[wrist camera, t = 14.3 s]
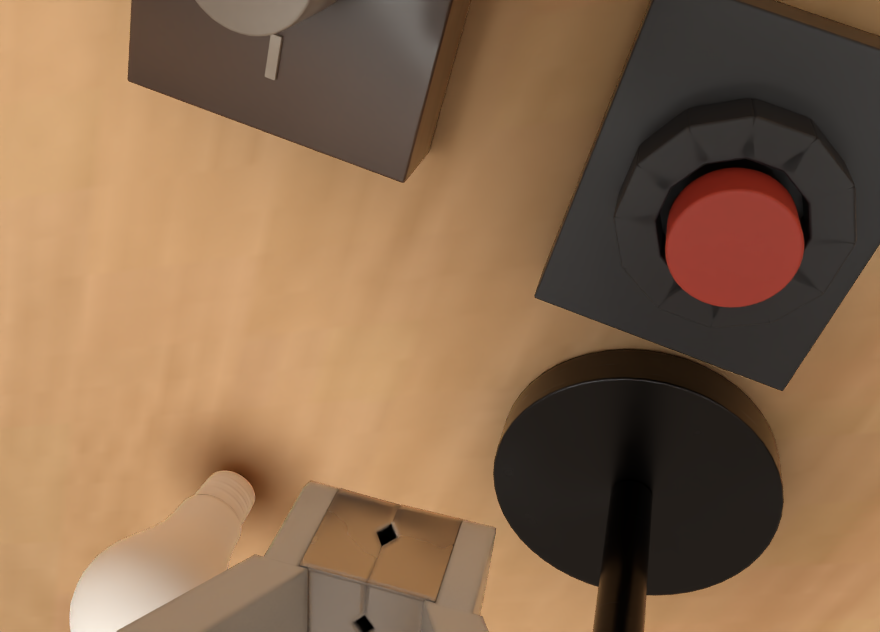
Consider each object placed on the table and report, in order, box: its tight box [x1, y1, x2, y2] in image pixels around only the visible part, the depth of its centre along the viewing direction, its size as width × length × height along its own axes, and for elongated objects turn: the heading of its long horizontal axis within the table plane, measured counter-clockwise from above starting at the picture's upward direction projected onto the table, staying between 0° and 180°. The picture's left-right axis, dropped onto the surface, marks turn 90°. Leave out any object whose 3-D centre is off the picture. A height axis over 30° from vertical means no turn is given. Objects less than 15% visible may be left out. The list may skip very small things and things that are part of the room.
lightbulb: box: [70, 470, 255, 632], centre depth 36 cm, size 6×6×11 cm
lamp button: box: [665, 168, 804, 307], centre depth 23 cm, size 4×4×2 cm
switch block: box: [535, 0, 880, 391], centre depth 25 cm, size 11×9×4 cm
